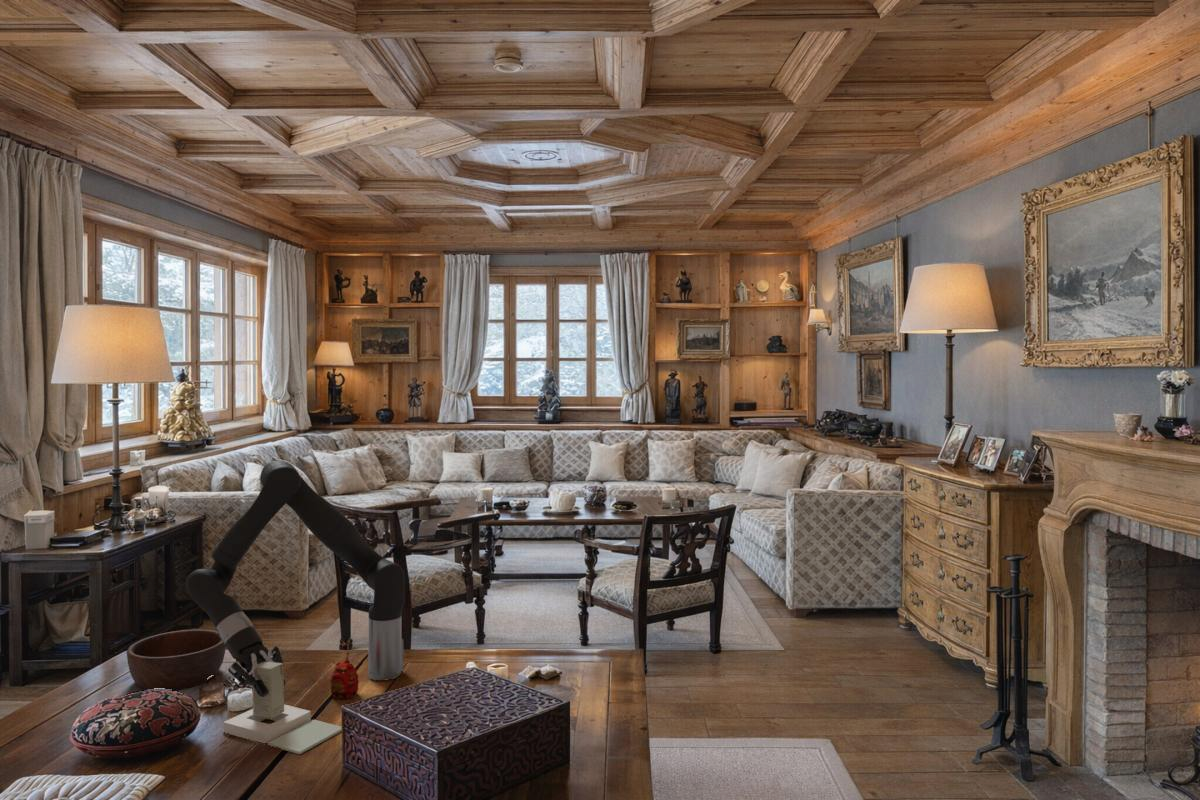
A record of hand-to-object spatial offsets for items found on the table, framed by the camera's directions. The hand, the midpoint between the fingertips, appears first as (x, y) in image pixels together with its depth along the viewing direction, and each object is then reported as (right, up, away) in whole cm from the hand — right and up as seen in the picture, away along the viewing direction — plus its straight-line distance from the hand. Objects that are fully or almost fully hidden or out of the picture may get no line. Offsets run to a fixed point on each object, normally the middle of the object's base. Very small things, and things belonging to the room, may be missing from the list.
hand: (273, 690), depth 188 cm
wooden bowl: (-41, -8, +31) cm, 52 cm away
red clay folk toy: (+11, -9, +20) cm, 25 cm away
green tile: (+10, -9, -5) cm, 14 cm away
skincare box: (-2, -6, +1) cm, 6 cm away
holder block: (-2, -9, +1) cm, 9 cm away
